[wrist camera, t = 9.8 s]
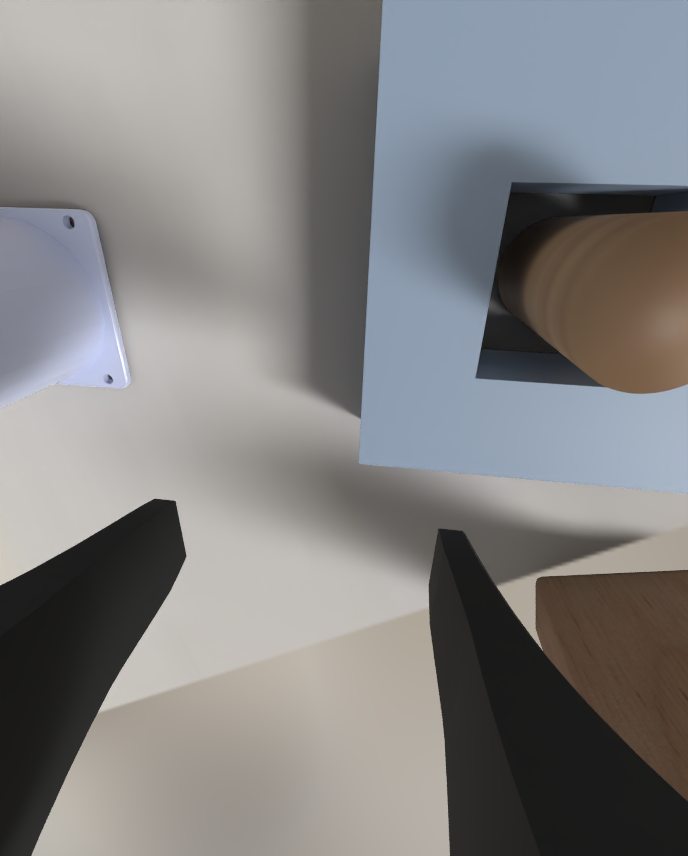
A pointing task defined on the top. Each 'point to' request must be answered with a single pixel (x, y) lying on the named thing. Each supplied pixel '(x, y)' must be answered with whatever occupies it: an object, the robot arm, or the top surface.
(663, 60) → the socket
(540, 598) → the wooden block
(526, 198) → the top surface
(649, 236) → the peg
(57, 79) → the top surface
